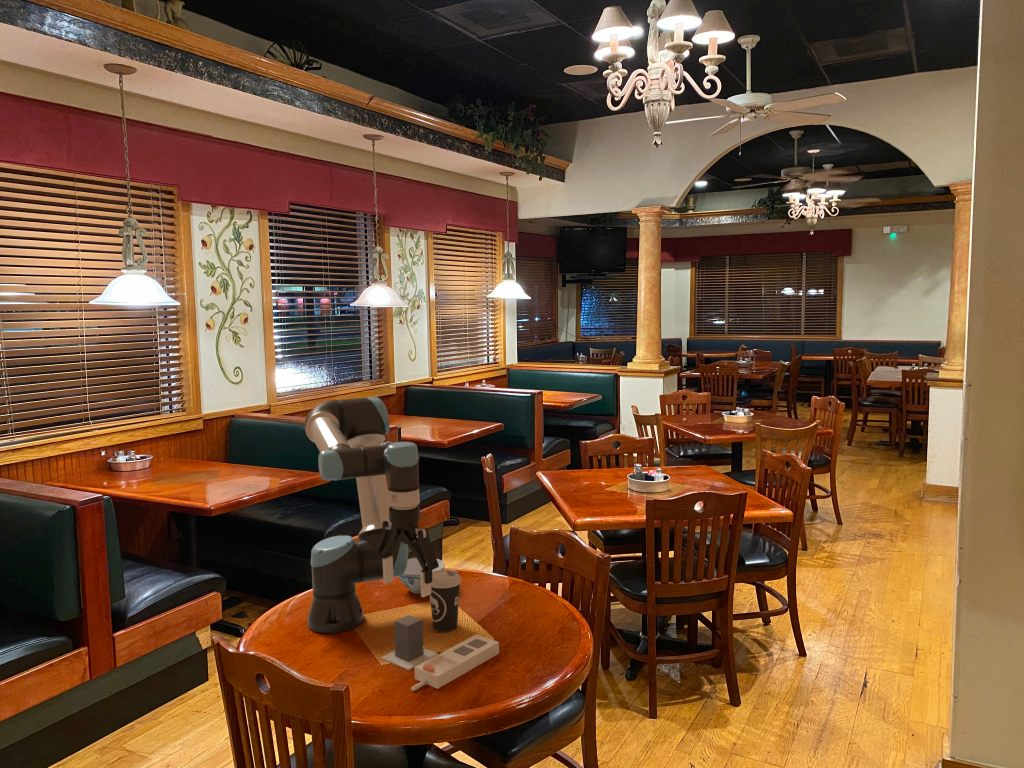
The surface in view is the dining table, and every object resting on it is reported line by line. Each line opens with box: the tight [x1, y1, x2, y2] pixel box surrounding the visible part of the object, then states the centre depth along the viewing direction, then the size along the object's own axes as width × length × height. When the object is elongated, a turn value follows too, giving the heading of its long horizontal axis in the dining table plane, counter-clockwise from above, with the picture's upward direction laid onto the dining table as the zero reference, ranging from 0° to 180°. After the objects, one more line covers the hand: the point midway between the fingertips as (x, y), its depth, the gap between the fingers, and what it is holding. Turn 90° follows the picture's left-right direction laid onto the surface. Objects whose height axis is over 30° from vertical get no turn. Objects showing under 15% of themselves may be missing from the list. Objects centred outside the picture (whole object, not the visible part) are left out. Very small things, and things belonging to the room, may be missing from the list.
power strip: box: [411, 634, 500, 692], centre depth 184 cm, size 26×8×4 cm, turn 141°
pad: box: [380, 647, 439, 671], centre depth 192 cm, size 10×10×1 cm
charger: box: [393, 614, 424, 662], centre depth 191 cm, size 5×5×9 cm
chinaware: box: [397, 557, 445, 595], centre depth 235 cm, size 15×15×8 cm
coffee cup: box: [429, 568, 463, 633], centre depth 208 cm, size 10×10×15 cm
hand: (407, 588), depth 190 cm, fingers open, 13 cm apart
